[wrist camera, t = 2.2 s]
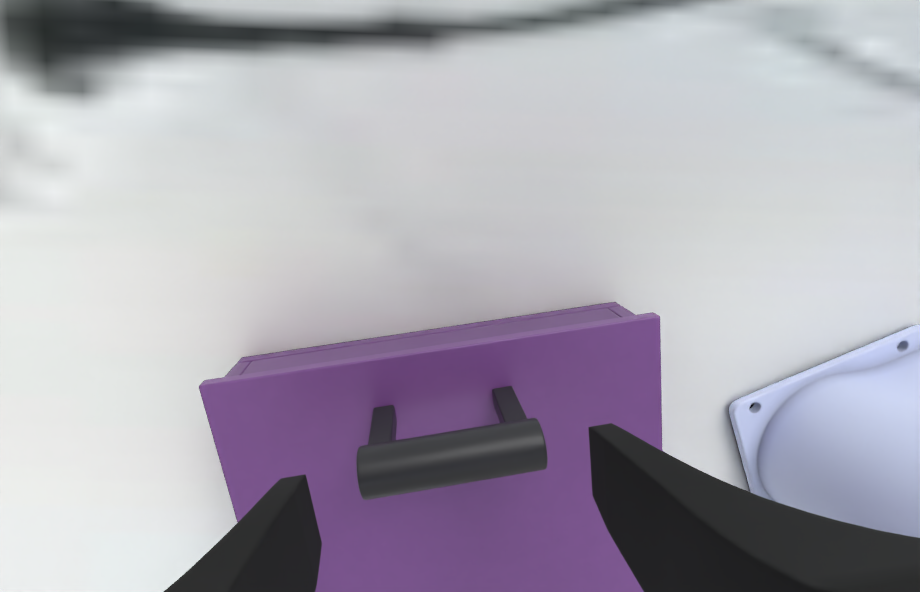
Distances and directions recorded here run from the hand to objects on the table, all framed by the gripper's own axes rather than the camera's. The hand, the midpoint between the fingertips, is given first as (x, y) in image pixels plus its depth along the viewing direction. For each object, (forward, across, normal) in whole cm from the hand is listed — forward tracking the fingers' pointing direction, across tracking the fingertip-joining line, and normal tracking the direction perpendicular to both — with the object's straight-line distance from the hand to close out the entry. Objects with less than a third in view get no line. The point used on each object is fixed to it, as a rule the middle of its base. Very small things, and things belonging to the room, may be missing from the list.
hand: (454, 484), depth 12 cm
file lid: (+5, 0, +4) cm, 6 cm away
